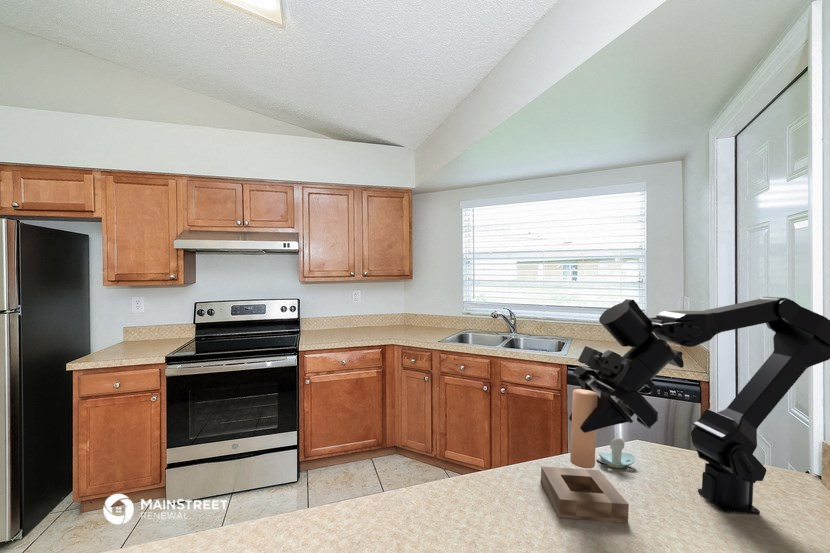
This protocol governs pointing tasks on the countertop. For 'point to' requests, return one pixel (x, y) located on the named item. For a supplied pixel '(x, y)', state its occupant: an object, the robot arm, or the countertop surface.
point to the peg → (581, 441)
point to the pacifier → (616, 455)
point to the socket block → (583, 494)
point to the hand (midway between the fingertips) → (576, 425)
